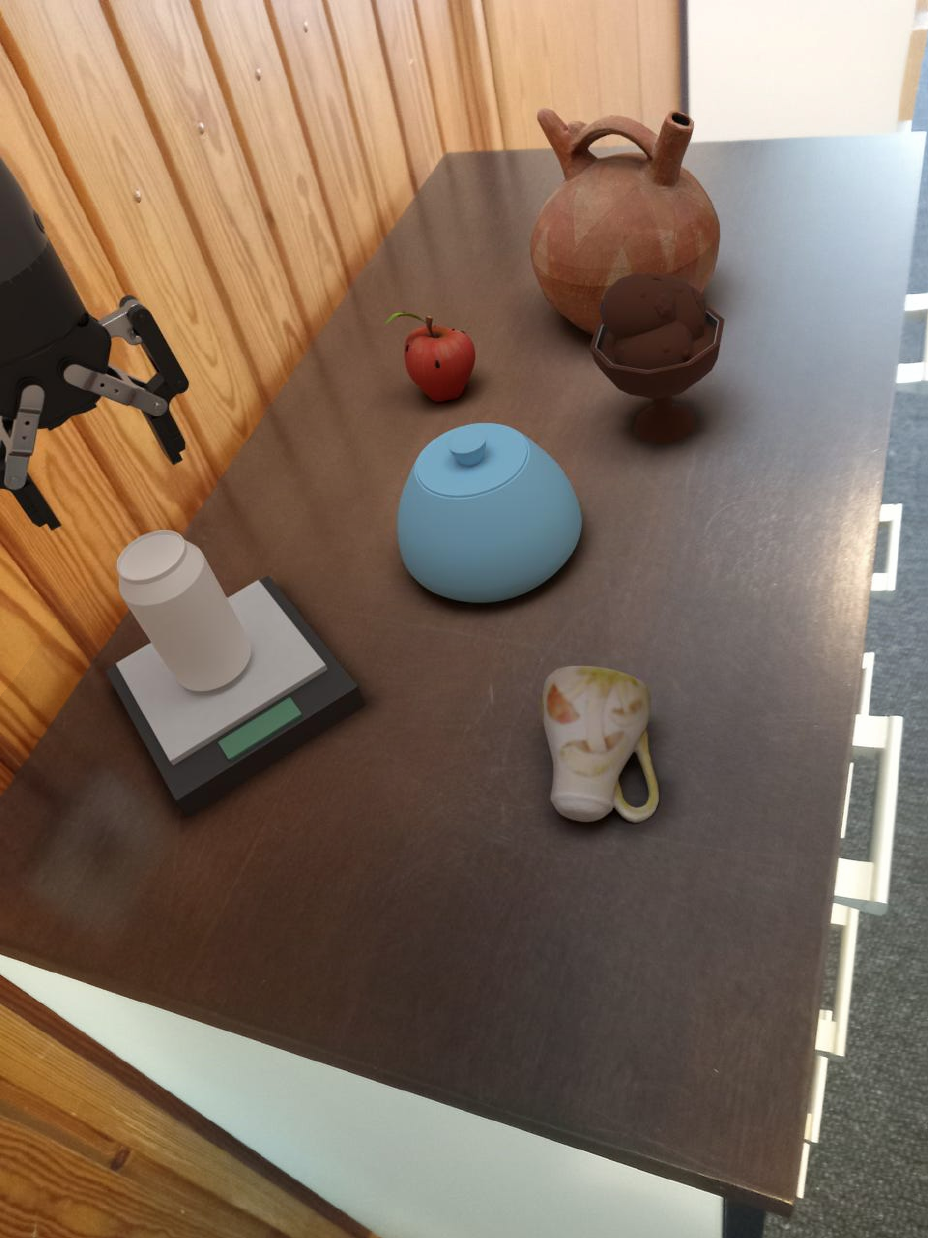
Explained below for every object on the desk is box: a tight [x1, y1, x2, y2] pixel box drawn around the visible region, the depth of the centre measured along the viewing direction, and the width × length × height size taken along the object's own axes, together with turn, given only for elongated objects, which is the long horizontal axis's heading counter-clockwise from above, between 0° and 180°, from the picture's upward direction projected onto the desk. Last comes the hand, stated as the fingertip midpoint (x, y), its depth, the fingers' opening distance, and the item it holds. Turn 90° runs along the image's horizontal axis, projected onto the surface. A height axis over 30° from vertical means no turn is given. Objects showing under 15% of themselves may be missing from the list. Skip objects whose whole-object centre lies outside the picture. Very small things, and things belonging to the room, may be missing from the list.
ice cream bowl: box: [589, 273, 725, 445], centre depth 86 cm, size 11×11×15 cm
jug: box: [529, 107, 721, 337], centre depth 98 cm, size 18×18×20 cm
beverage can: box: [115, 529, 251, 691], centre depth 75 cm, size 6×6×12 cm
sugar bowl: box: [396, 422, 583, 604], centre depth 81 cm, size 15×15×12 cm
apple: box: [381, 311, 476, 403], centre depth 99 cm, size 8×7×10 cm
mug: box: [540, 665, 660, 824], centre depth 67 cm, size 8×10×10 cm
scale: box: [105, 575, 367, 819], centre depth 79 cm, size 15×16×3 cm
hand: (114, 490), depth 66 cm, fingers open, 8 cm apart
